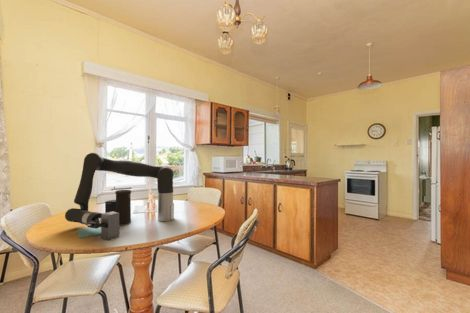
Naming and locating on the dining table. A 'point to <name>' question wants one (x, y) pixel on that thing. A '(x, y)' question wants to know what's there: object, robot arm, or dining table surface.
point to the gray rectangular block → (110, 225)
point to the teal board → (89, 232)
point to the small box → (110, 206)
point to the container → (123, 206)
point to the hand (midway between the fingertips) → (113, 224)
